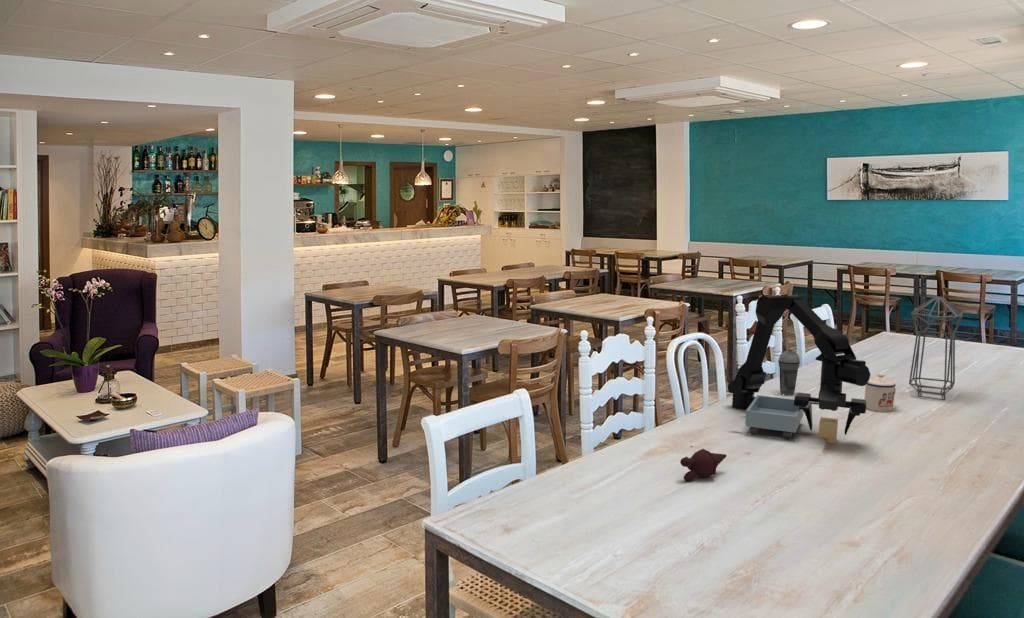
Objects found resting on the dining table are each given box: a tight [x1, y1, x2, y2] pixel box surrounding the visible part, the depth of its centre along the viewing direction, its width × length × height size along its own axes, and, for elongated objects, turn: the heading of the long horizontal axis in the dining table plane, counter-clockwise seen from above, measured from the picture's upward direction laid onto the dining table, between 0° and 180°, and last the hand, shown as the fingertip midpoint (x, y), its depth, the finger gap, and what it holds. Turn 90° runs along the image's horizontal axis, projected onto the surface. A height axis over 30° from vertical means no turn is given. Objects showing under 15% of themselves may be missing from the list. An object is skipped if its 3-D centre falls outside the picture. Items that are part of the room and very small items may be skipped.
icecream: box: [679, 448, 727, 482], centre depth 196 cm, size 7×7×15 cm
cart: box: [744, 394, 805, 439], centre depth 231 cm, size 14×20×7 cm
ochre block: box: [818, 416, 839, 444], centre depth 225 cm, size 4×4×6 cm
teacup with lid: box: [864, 372, 897, 413], centre depth 259 cm, size 12×9×12 cm
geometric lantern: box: [908, 296, 964, 401], centre depth 273 cm, size 16×16×35 cm
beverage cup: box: [777, 337, 801, 396], centre depth 276 cm, size 7×7×20 cm
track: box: [724, 414, 806, 442], centre depth 233 cm, size 20×22×1 cm
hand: (828, 432), depth 225 cm, fingers open, 9 cm apart
